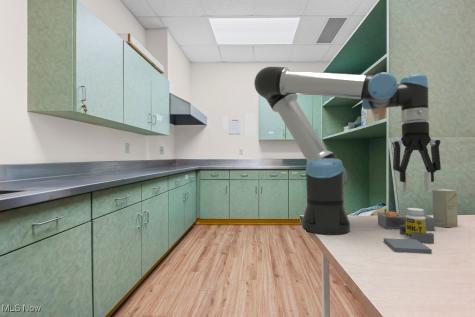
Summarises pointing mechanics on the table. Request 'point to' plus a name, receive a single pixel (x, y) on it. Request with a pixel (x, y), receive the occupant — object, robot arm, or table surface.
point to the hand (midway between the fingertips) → (416, 191)
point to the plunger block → (401, 221)
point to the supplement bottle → (415, 221)
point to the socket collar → (419, 235)
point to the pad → (407, 245)
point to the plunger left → (391, 213)
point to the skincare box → (445, 208)
